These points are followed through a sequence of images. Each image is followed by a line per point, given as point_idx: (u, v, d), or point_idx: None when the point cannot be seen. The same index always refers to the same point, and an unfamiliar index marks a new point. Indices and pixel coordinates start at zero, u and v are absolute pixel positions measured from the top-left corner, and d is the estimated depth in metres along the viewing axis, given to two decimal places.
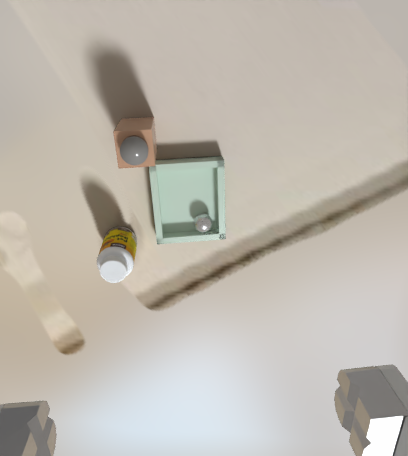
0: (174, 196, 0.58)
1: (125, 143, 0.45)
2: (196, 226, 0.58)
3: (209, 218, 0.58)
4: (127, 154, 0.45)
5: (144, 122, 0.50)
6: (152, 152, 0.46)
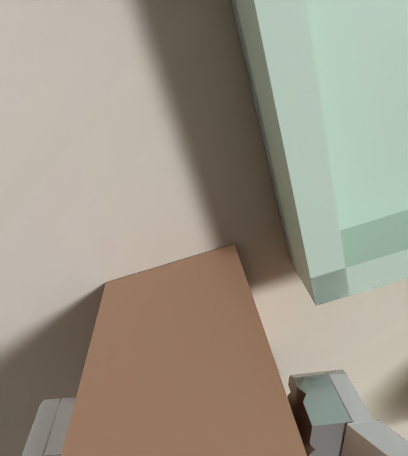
0: None
1: None
2: None
3: None
4: None
5: None
6: None
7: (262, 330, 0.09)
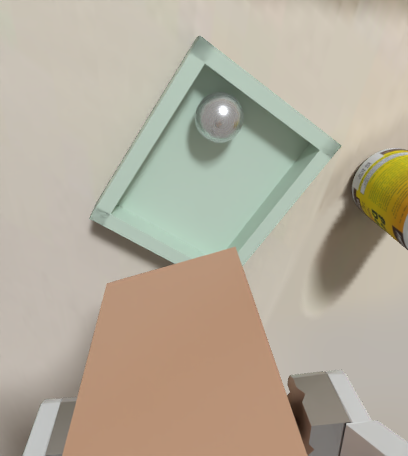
0: (228, 196, 0.27)
1: None
2: (236, 130, 0.22)
3: (197, 122, 0.22)
4: None
5: None
6: None
7: (263, 332, 0.09)
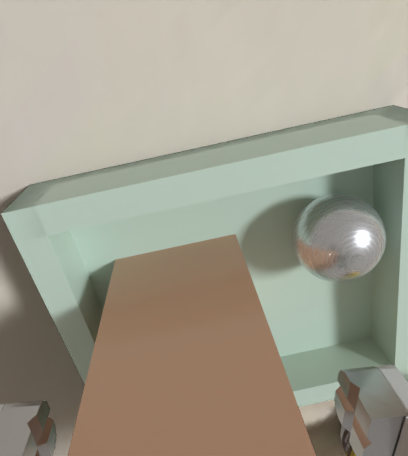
0: None
1: None
2: (352, 280, 0.12)
3: (314, 223, 0.12)
4: None
5: None
6: None
7: (259, 304, 0.10)
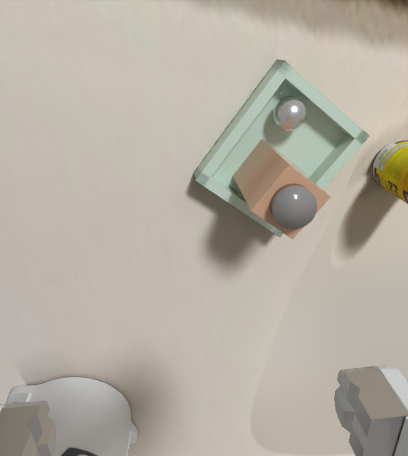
0: None
1: (294, 225, 0.29)
2: (302, 122, 0.33)
3: (276, 116, 0.33)
4: (305, 212, 0.29)
5: None
6: (276, 183, 0.29)
7: (272, 149, 0.32)
